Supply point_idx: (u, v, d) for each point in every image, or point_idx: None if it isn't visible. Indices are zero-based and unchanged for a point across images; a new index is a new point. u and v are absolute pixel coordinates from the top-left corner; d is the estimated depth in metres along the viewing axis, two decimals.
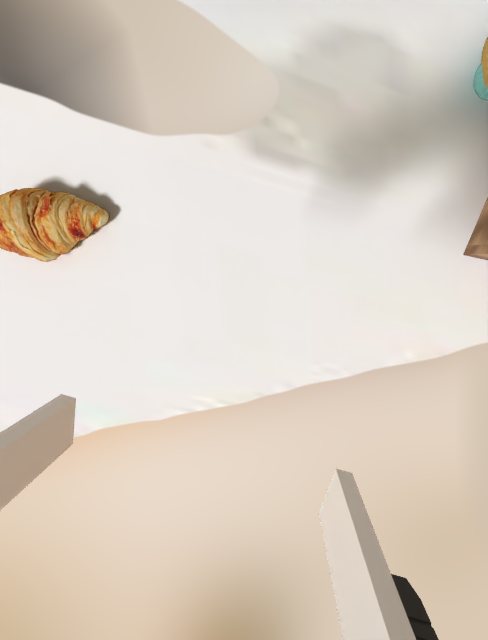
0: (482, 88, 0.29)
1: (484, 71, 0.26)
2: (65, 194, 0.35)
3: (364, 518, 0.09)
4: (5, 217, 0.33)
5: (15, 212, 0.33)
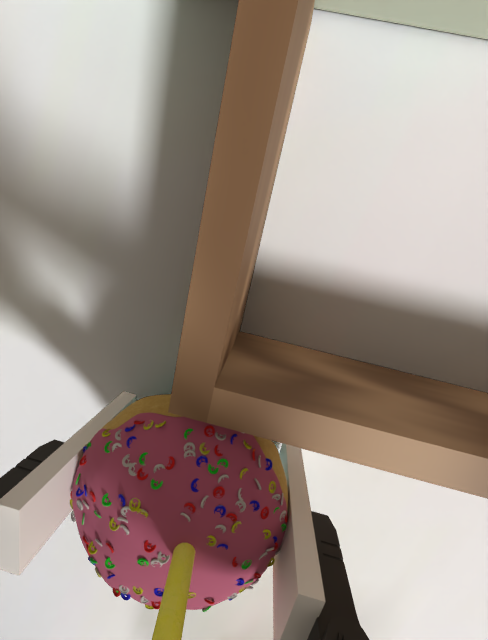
0: None
1: None
2: None
3: (299, 470, 0.11)
4: None
5: None
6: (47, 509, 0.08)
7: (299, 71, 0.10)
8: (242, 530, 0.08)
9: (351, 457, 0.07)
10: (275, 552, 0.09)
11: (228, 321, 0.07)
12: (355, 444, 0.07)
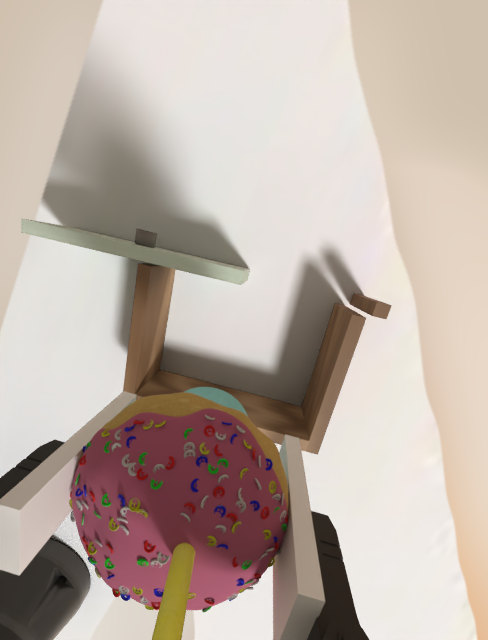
0: None
1: None
2: None
3: (299, 470, 0.11)
4: None
5: None
6: (47, 509, 0.08)
7: (173, 280, 0.28)
8: (242, 530, 0.08)
9: None
10: (275, 552, 0.09)
11: (136, 376, 0.25)
12: None
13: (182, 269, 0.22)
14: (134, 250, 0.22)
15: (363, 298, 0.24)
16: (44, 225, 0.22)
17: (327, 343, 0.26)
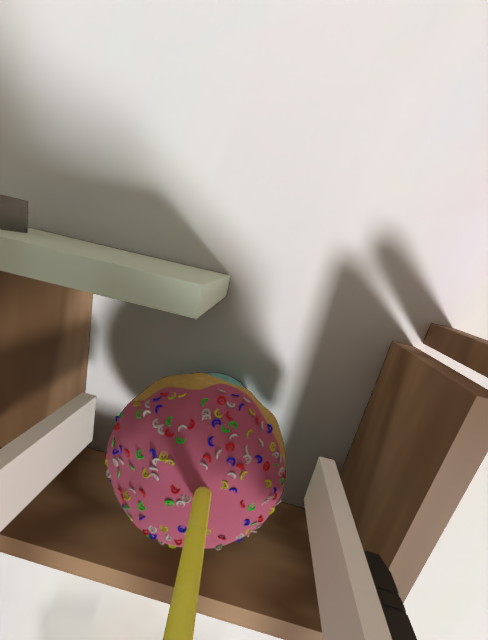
0: None
1: None
2: None
3: (342, 500, 0.10)
4: None
5: None
6: None
7: (90, 296, 0.15)
8: (249, 477, 0.10)
9: (72, 571, 0.12)
10: (275, 503, 0.11)
11: None
12: (72, 565, 0.12)
13: (53, 280, 0.09)
14: None
15: (472, 341, 0.11)
16: None
17: (382, 423, 0.13)
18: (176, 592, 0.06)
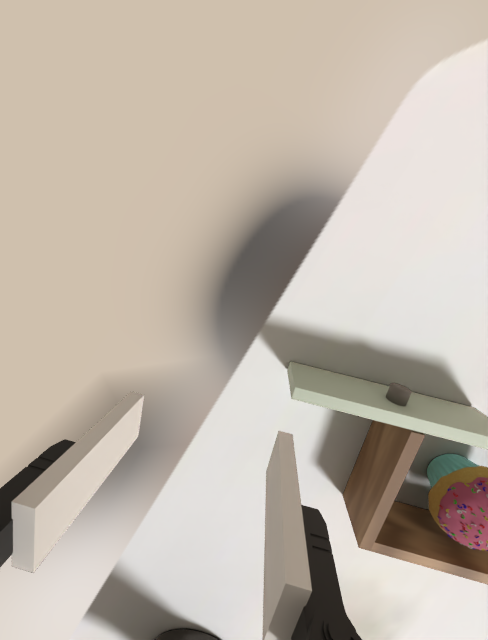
0: None
1: None
2: None
3: (291, 465, 0.11)
4: None
5: None
6: (60, 508, 0.09)
7: None
8: None
9: (413, 561, 0.25)
10: None
11: (380, 527, 0.25)
12: (414, 558, 0.25)
13: (462, 441, 0.22)
14: (413, 422, 0.22)
15: None
16: (319, 394, 0.22)
17: None
18: None
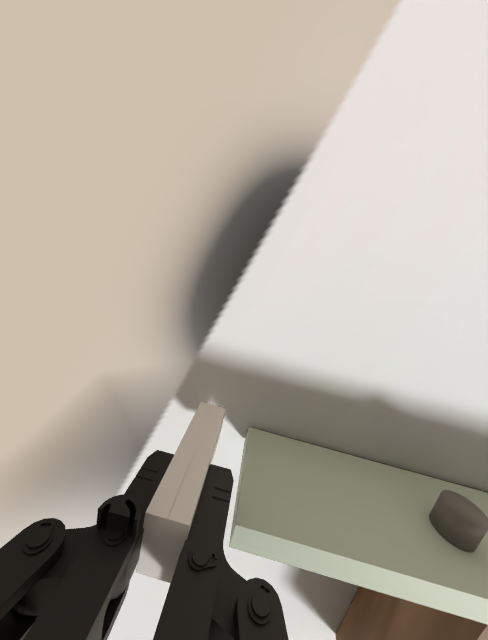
0: None
1: None
2: None
3: (214, 432, 0.12)
4: None
5: None
6: None
7: None
8: None
9: None
10: None
11: None
12: None
13: None
14: None
15: None
16: (289, 543, 0.10)
17: None
18: None
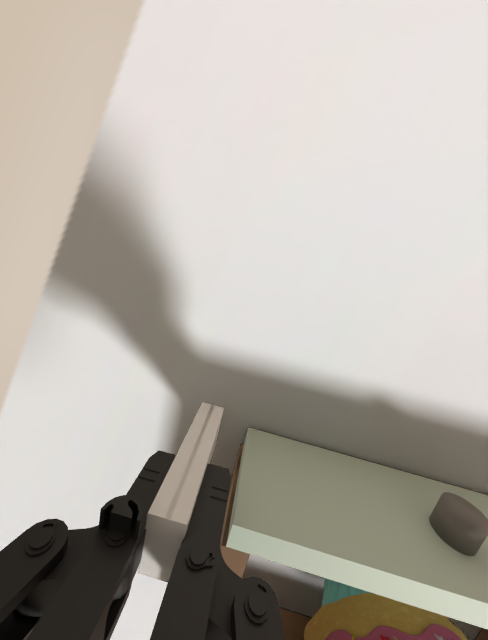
0: None
1: None
2: None
3: (212, 432, 0.12)
4: None
5: None
6: None
7: None
8: None
9: None
10: None
11: None
12: None
13: None
14: None
15: None
16: (286, 544, 0.10)
17: None
18: None
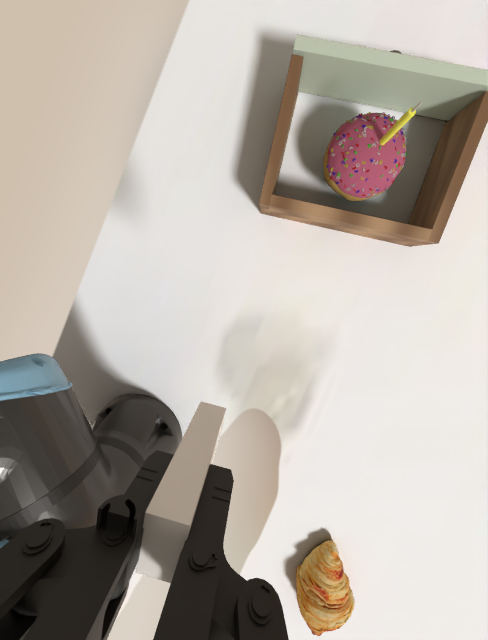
0: None
1: (373, 196, 0.29)
2: (310, 568, 0.44)
3: (214, 432, 0.12)
4: (325, 625, 0.42)
5: (322, 616, 0.42)
6: None
7: (293, 110, 0.31)
8: (398, 138, 0.26)
9: (306, 212, 0.28)
10: (402, 165, 0.27)
11: (276, 175, 0.28)
12: (307, 208, 0.28)
13: (447, 76, 0.24)
14: (402, 60, 0.24)
15: None
16: (318, 39, 0.24)
17: (441, 154, 0.29)
18: None
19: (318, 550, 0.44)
